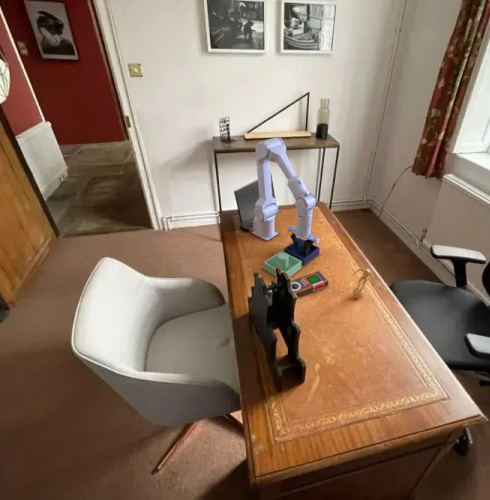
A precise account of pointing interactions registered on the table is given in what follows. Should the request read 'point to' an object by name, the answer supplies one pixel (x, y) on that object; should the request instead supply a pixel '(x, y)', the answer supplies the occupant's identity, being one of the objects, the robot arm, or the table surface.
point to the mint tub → (292, 265)
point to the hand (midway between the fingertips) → (301, 250)
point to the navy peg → (301, 248)
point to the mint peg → (283, 261)
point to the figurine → (358, 291)
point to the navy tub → (292, 251)
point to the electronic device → (309, 283)
